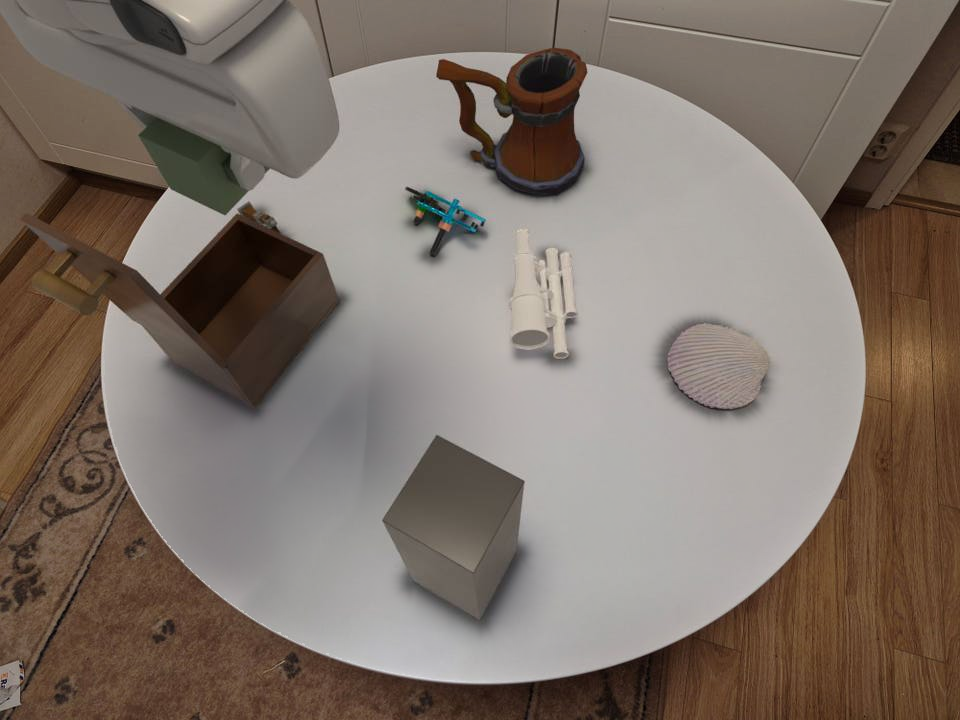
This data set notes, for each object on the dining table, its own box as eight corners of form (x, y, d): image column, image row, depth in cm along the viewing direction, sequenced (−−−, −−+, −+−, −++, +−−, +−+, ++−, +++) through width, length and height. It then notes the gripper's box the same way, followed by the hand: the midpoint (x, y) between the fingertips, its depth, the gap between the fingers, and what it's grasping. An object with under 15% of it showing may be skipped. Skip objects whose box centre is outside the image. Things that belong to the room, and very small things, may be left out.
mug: (437, 190, 85) (426, 91, 72) (450, 126, 91) (443, 23, 78) (580, 202, 84) (596, 103, 71) (585, 136, 89) (601, 33, 76)
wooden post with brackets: (284, 253, 80) (264, 222, 77) (255, 238, 85) (235, 207, 82) (296, 245, 80) (277, 213, 77) (267, 229, 86) (248, 199, 83)
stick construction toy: (500, 220, 80) (460, 198, 74) (475, 274, 81) (433, 257, 75) (433, 191, 87) (392, 168, 80) (411, 241, 88) (368, 223, 82)
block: (225, 216, 42) (196, 162, 38) (170, 189, 43) (137, 135, 39) (270, 168, 44) (248, 112, 40) (217, 144, 45) (189, 87, 41)
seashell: (789, 399, 67) (695, 387, 65) (759, 420, 72) (670, 409, 70) (772, 311, 72) (684, 298, 70) (745, 336, 77) (661, 324, 75)
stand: (479, 620, 60) (473, 573, 43) (413, 581, 62) (381, 520, 45) (516, 551, 63) (525, 480, 46) (451, 515, 65) (436, 434, 48)
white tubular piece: (538, 265, 82) (573, 244, 78) (546, 367, 75) (584, 350, 72) (491, 236, 77) (527, 212, 73) (496, 343, 70) (535, 323, 67)
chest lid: (25, 212, 51) (-17, 254, 50) (137, 270, 49) (96, 317, 47) (136, 314, 66) (106, 349, 65) (227, 363, 63) (198, 401, 62)
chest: (261, 262, 80) (236, 212, 73) (340, 300, 77) (323, 253, 70) (172, 362, 74) (136, 319, 66) (255, 408, 71) (226, 368, 63)
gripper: (-117, -93, 31) (55, 137, 43) (225, 45, 26) (312, 263, 38) (-9, -156, 34) (125, 78, 46) (323, -42, 29) (375, 188, 41)
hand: (212, 163), depth 42 cm, fingers closed on block, 4 cm apart
